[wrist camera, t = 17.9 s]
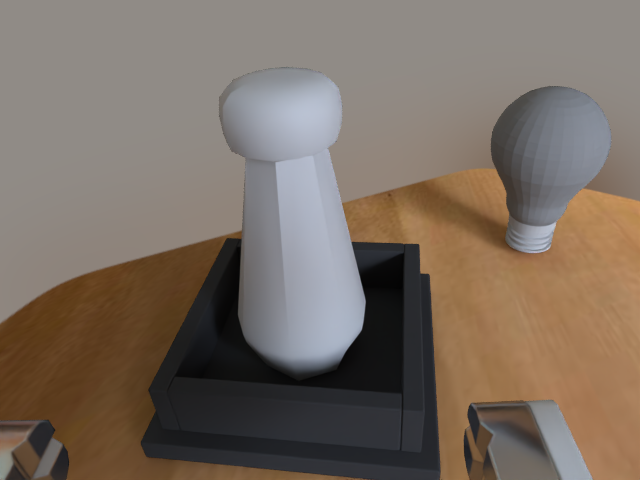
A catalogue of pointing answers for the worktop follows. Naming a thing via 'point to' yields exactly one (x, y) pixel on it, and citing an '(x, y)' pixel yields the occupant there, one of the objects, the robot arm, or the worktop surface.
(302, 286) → the salt shaker
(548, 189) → the light bulb
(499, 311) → the worktop surface
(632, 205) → the worktop surface
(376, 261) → the pad
